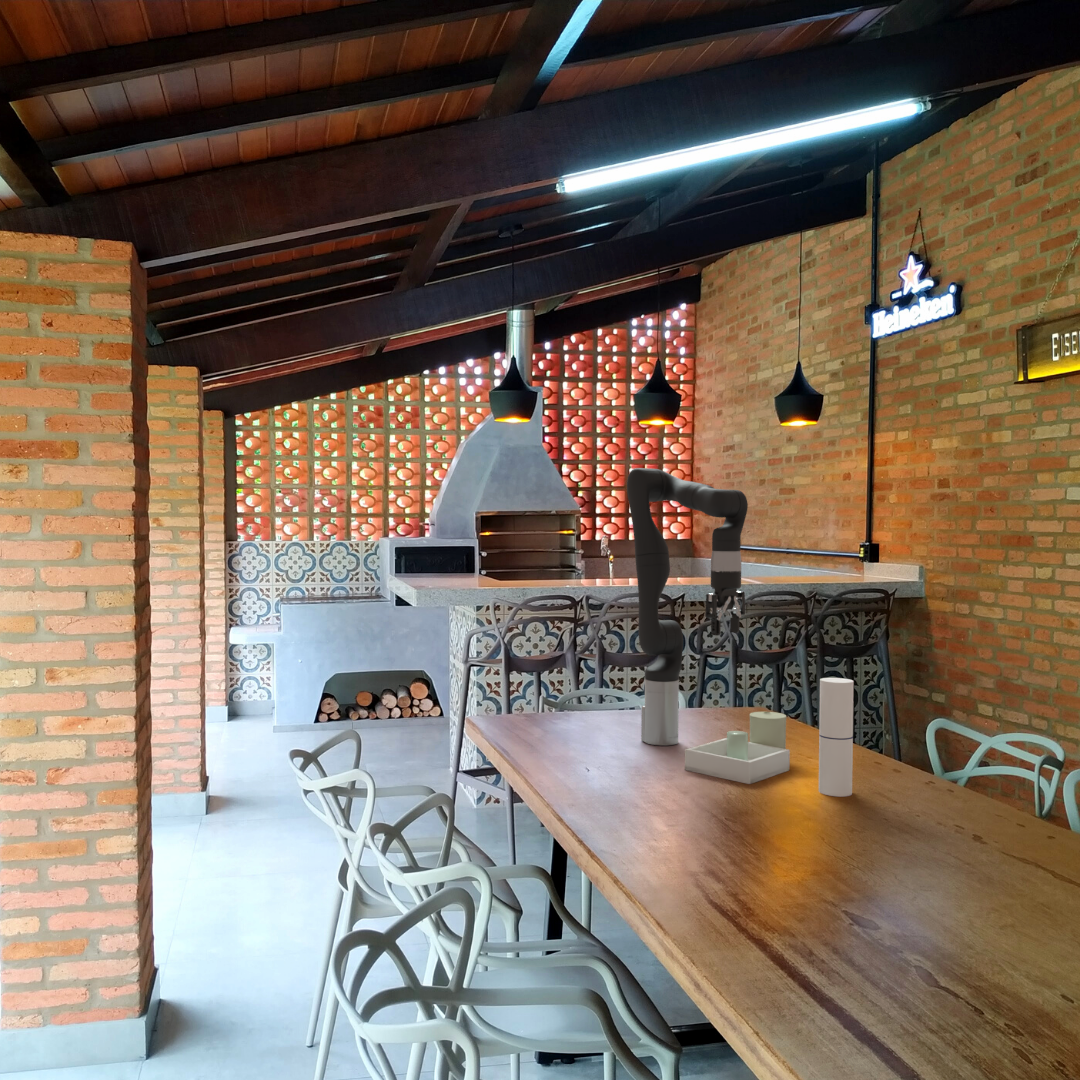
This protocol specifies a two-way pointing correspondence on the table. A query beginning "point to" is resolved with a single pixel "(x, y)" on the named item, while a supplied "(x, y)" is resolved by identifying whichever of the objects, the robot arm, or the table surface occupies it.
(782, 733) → the can
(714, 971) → the table surface
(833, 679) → the cylindrical container
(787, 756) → the grey tub
